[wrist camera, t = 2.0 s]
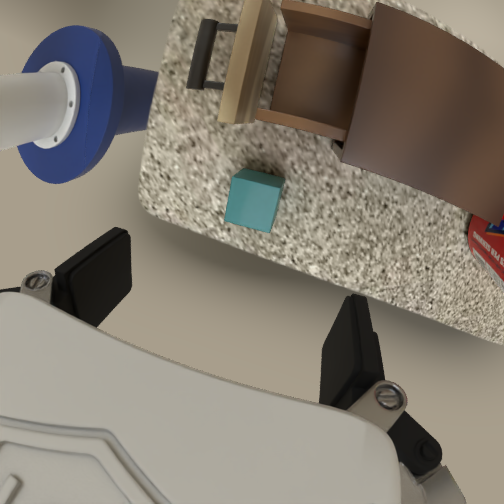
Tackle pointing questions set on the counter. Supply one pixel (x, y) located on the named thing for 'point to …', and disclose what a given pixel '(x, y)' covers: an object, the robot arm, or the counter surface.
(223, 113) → the drawer
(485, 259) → the soda can
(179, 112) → the counter surface
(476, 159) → the cabinet
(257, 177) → the block
